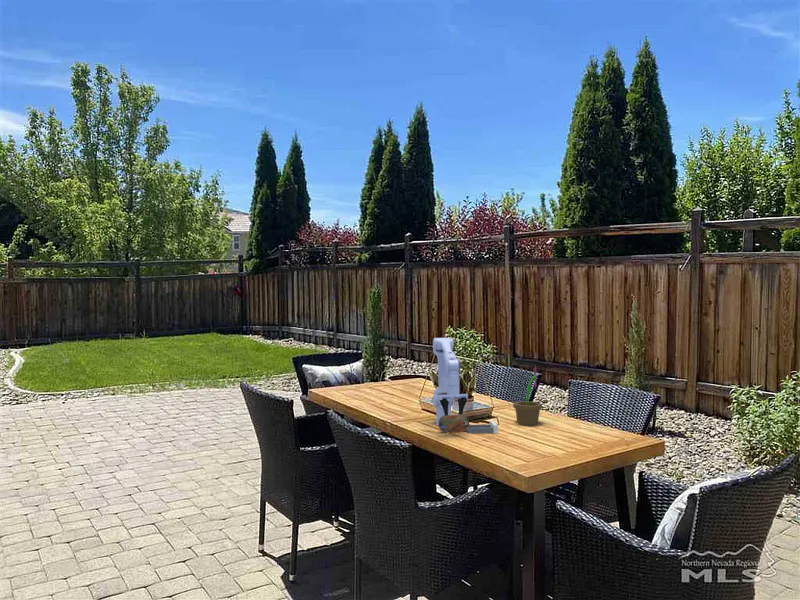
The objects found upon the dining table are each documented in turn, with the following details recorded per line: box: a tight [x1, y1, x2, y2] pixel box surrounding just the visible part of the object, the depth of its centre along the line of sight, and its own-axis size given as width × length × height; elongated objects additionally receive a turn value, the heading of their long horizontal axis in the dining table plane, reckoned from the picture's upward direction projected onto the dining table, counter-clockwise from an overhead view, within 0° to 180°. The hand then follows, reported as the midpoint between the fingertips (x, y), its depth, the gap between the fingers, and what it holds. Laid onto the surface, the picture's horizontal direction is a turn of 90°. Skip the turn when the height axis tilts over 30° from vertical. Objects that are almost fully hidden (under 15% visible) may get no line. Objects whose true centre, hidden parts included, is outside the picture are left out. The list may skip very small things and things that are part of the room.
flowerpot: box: [513, 365, 543, 427], centre depth 300 cm, size 14×14×30 cm
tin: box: [438, 413, 470, 434], centre depth 283 cm, size 15×3×8 cm, turn 101°
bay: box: [466, 420, 499, 435], centre depth 284 cm, size 10×14×4 cm
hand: (453, 414), depth 274 cm, fingers open, 7 cm apart
